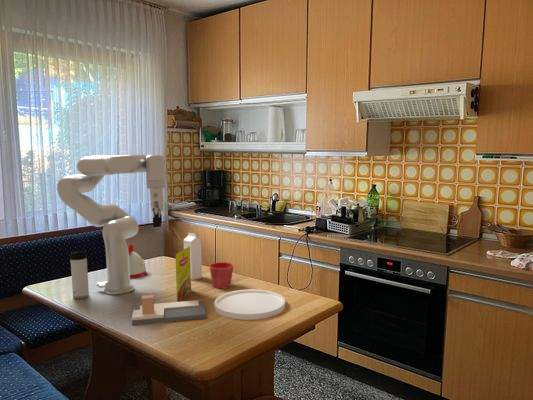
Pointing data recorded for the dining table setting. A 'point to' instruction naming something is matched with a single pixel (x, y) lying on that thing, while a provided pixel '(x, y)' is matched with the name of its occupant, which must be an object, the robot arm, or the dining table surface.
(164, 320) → the mat
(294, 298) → the dining table surface
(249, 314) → the plate
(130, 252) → the kitchen timer
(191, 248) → the milk
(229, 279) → the flower pot
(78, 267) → the travel mug
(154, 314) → the cream and peach block
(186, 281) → the food package
